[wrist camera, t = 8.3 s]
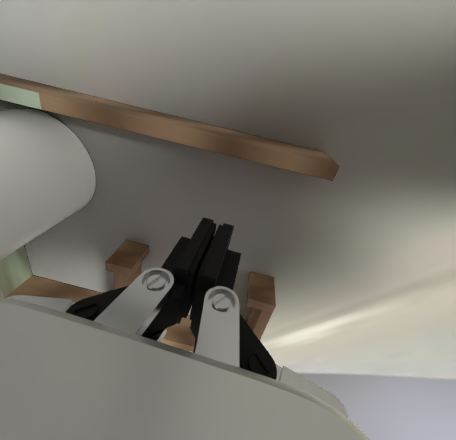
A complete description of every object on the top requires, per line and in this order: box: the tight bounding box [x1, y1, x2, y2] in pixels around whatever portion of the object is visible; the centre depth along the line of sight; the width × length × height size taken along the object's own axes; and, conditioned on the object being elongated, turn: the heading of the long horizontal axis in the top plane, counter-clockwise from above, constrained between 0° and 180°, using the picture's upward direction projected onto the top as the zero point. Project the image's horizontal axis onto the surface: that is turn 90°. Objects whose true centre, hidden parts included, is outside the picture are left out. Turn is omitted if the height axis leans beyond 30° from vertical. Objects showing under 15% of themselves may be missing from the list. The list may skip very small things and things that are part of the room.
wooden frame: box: [0, 74, 339, 352], centre depth 18 cm, size 24×19×3 cm
